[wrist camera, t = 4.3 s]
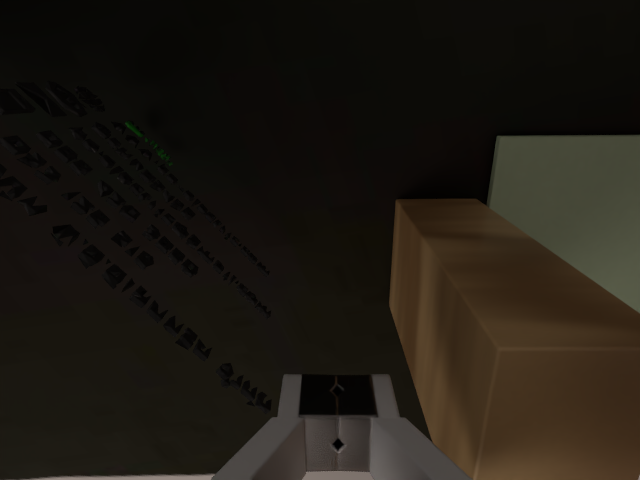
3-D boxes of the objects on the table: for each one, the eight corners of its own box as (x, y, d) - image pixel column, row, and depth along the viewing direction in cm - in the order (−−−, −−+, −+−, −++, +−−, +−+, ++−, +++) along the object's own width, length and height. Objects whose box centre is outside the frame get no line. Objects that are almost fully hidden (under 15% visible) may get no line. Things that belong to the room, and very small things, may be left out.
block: (388, 304, 21) (462, 540, 10) (395, 198, 19) (498, 348, 8) (461, 304, 21) (615, 539, 10) (476, 198, 19) (692, 347, 8)
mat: (464, 350, 23) (466, 354, 22) (496, 135, 18) (500, 136, 18) (708, 349, 22) (715, 353, 22) (799, 133, 18) (808, 134, 18)
